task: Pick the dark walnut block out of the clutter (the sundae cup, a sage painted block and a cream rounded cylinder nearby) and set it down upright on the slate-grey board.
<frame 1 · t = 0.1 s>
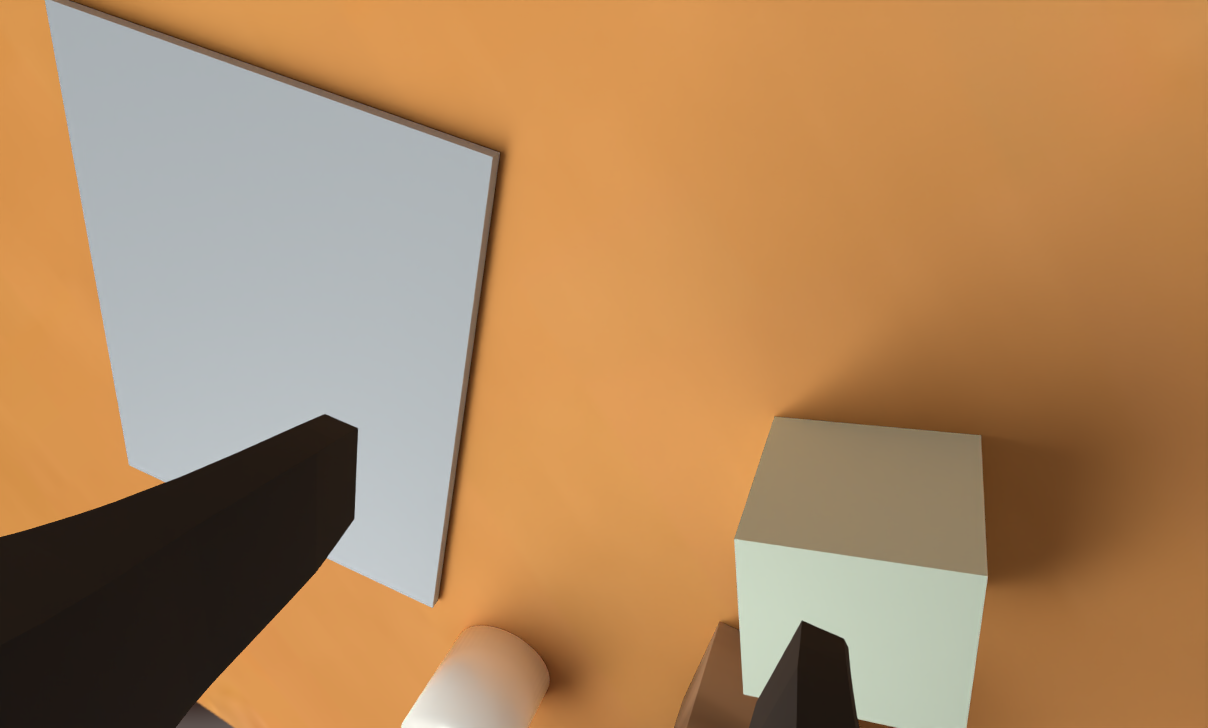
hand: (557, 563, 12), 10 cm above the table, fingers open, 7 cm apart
sage block: (870, 500, 22), on the table
cream rounded cylinder: (502, 663, 31), on the table
walnut block: (763, 690, 27), on the table
slate board: (275, 342, 27), on the table
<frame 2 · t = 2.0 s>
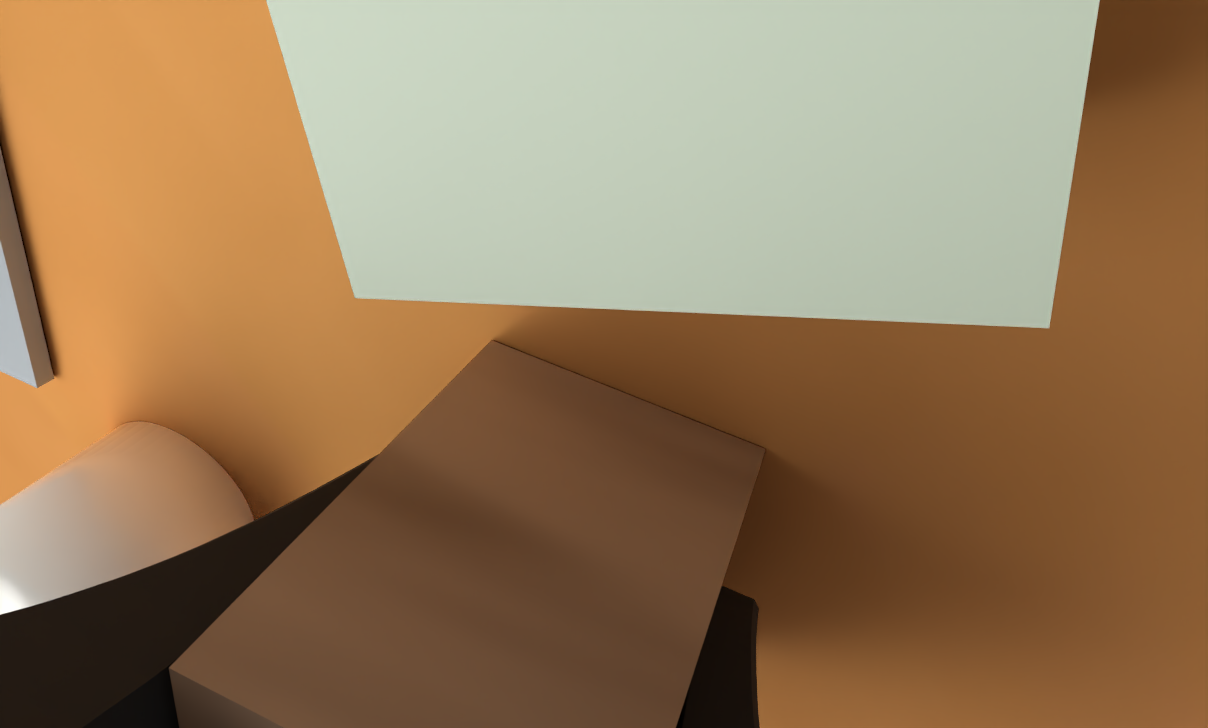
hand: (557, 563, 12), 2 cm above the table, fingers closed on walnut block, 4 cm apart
cream rounded cylinder: (181, 496, 18), on the table
walnut block: (594, 497, 14), on the table, touching gripper
when the fingers open (3 cm above the table, at t = 5.7 s): walnut block stays where it is, resting on slate board.
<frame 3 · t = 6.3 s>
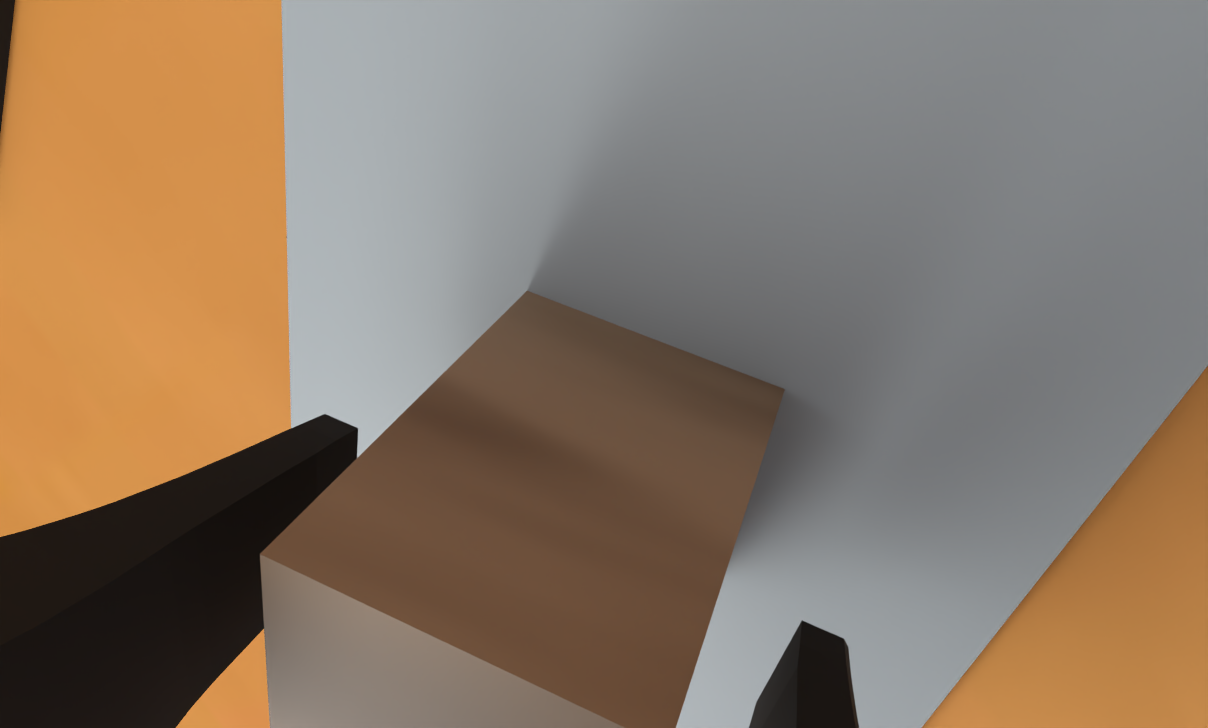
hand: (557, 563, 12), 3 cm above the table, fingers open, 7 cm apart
walnut block: (622, 441, 14), resting on slate board
slate board: (626, 440, 15), on the table
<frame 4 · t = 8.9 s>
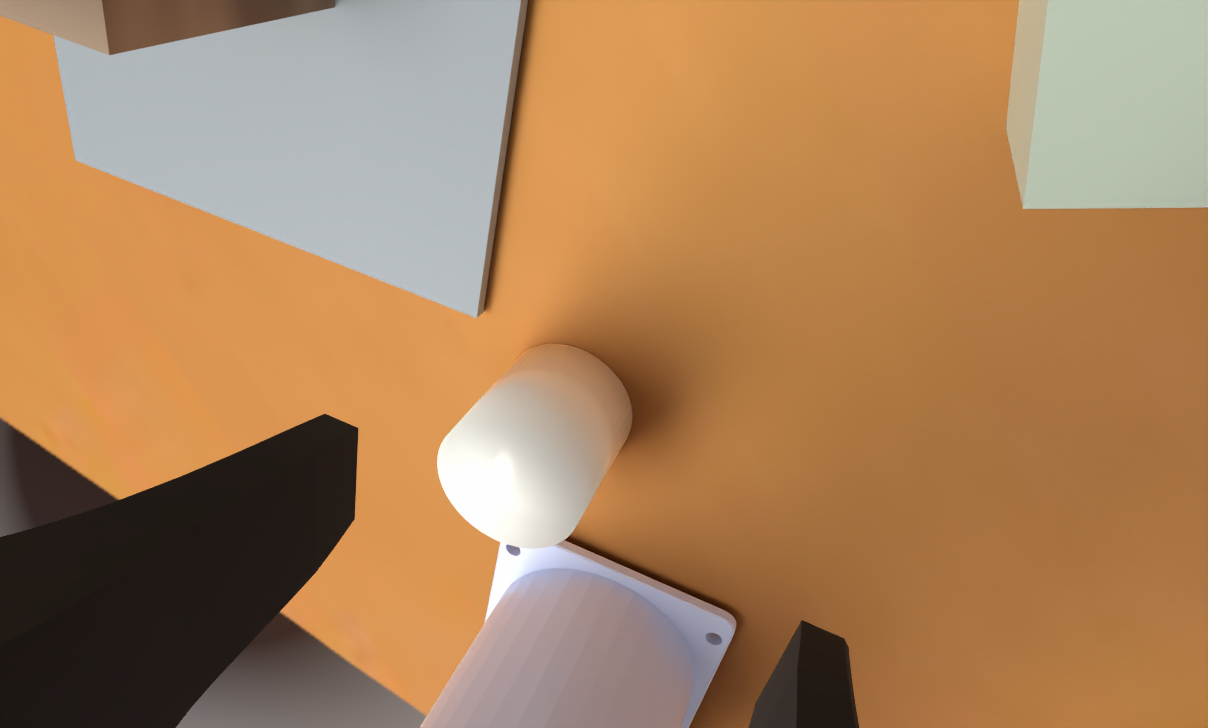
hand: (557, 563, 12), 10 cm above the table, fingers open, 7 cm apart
cream rounded cylinder: (567, 403, 24), on the table
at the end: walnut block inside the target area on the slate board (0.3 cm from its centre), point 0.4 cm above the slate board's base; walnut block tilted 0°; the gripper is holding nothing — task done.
